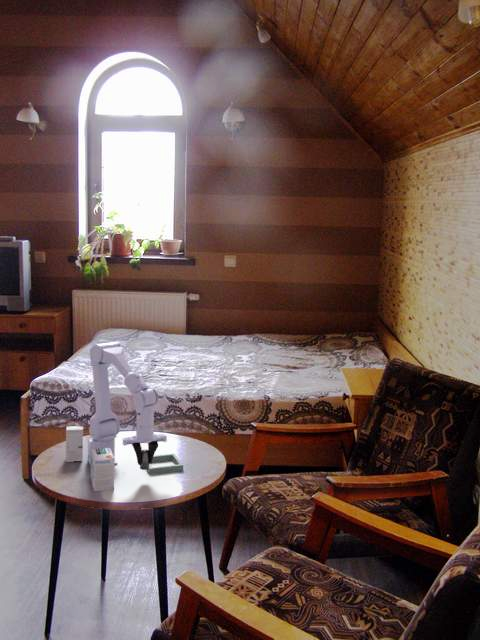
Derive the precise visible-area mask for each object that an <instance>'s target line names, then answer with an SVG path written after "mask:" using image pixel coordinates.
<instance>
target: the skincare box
mask: <svg viewBox="0 0 480 640" xmlns="http://www.w3.org/2000/svg"><path fill="white" fill-rule="evenodd" d="M83 437H84V426H83V425H79V426H78V425H77V426H76V425H75V426H74V425H73V426H66V429H65V462H66V463H73V462H74V461H81V462H83V455H84V454H83V450H84V449H83V448H84V447H83V446H84V445H83V443H84V438H83Z"/></svg>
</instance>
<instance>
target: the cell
mask: <svg viewBox="0 0 480 640" xmlns="http://www.w3.org/2000/svg"><path fill="white" fill-rule="evenodd" d="M139 468H140V470H142V471H144V470H147V469H149V450H148V449H143V448H142V449H141V465H139ZM147 471H148V470H147Z"/></svg>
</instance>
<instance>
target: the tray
mask: <svg viewBox="0 0 480 640" xmlns="http://www.w3.org/2000/svg"><path fill="white" fill-rule="evenodd" d="M167 461H173V463H174V464H172V465H171V464H170V465H163V466H161V465H160V466H155V467H154V466H152V465H151V464H149V469H147V472H148V474H149V475H155V474H163V473H174V472H182V471H184V464H183V463H182V461H181V460H180V459H179V458H178V456H177V455H176V453H167V454H166V453H165V454H159V455H158V454H157V455H156V454H154V456H153V459H152V463H155V462H167Z"/></svg>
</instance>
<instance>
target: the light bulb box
mask: <svg viewBox="0 0 480 640" xmlns="http://www.w3.org/2000/svg"><path fill="white" fill-rule="evenodd" d="M90 481H91V486H92V489H93V492H101V491H100V490H102V491H110V490H111V491H112V490H115V464H114V456H113V454H112V451H111V449H110V448H102V449H91V466H90Z"/></svg>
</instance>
